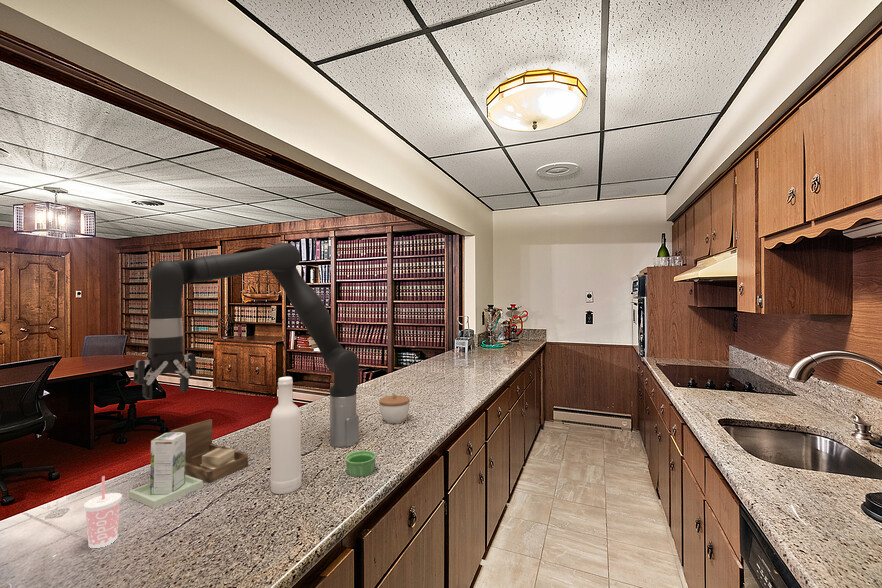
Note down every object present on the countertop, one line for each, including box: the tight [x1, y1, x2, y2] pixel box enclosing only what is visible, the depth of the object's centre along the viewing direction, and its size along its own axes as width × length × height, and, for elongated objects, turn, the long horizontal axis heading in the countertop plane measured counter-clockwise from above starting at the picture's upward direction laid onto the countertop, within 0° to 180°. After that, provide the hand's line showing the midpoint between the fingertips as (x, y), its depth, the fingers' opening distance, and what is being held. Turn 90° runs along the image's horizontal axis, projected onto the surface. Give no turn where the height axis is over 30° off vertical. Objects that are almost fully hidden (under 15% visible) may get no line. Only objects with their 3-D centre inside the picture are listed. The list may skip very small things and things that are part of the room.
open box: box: [170, 419, 249, 484], centre depth 117 cm, size 19×12×12 cm, turn 63°
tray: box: [128, 475, 204, 509], centre depth 102 cm, size 12×12×2 cm
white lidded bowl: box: [378, 394, 410, 424], centre depth 160 cm, size 13×13×11 cm
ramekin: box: [344, 450, 377, 478], centre depth 114 cm, size 9×9×4 cm
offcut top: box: [202, 448, 235, 468], centre depth 115 cm, size 6×6×3 cm
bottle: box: [269, 376, 302, 495], centre depth 104 cm, size 8×8×30 cm
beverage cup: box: [83, 475, 123, 549], centre depth 81 cm, size 6×6×14 cm
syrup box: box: [149, 431, 186, 495], centre depth 103 cm, size 6×6×14 cm
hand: (166, 395), depth 103 cm, fingers open, 8 cm apart
